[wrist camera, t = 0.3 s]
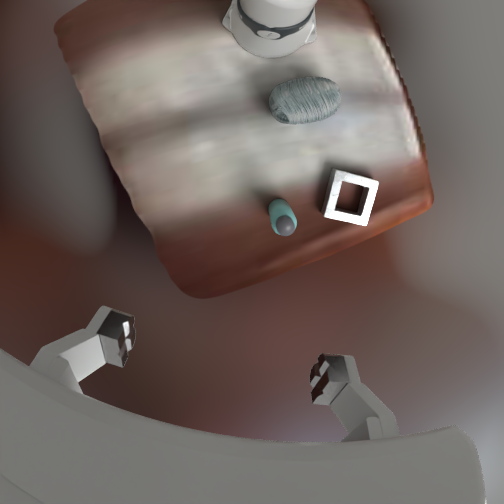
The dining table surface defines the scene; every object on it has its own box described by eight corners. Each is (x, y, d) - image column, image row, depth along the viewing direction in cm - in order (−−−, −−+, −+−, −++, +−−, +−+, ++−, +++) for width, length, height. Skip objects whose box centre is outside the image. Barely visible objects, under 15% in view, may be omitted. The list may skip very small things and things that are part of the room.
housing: (331, 167, 53) (336, 169, 50) (373, 179, 54) (379, 181, 51) (320, 212, 57) (324, 216, 55) (361, 221, 58) (366, 225, 55)
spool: (272, 138, 48) (286, 110, 38) (258, 99, 48) (267, 67, 38) (335, 130, 50) (357, 105, 40) (318, 94, 50) (336, 66, 40)
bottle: (270, 196, 56) (275, 212, 46) (291, 200, 56) (301, 217, 46) (266, 217, 58) (270, 237, 48) (287, 220, 58) (295, 241, 48)
